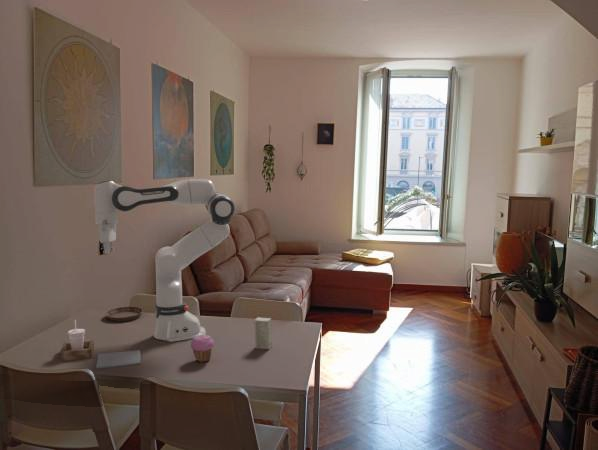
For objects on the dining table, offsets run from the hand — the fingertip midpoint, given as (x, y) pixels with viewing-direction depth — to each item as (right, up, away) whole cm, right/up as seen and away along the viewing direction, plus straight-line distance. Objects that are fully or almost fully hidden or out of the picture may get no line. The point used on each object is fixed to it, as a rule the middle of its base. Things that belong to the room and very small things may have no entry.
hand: (109, 252), depth 221 cm
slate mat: (+10, -41, -16) cm, 45 cm away
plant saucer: (-7, -35, +40) cm, 53 cm away
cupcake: (+42, -41, -16) cm, 61 cm away
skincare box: (+65, -40, -2) cm, 76 cm away
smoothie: (-9, -40, -10) cm, 43 cm away
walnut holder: (-9, -40, -10) cm, 42 cm away
